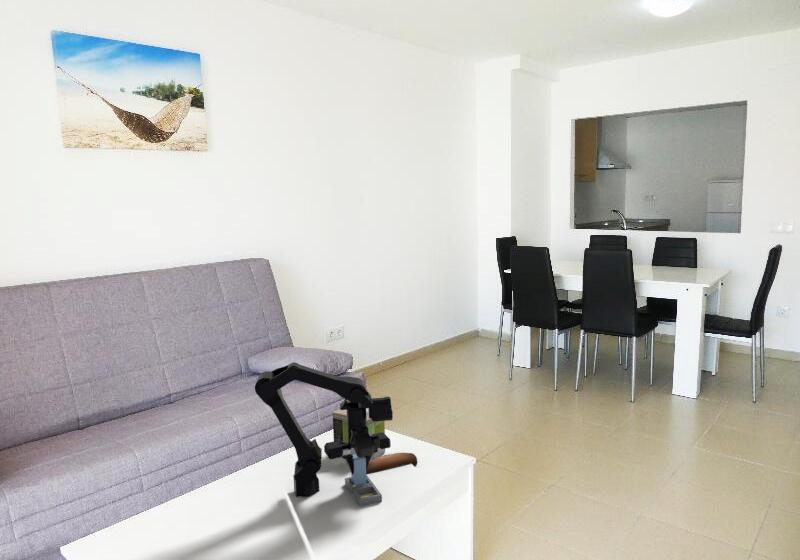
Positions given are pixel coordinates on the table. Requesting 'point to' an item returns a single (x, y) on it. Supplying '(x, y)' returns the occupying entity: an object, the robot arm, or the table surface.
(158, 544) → the table surface
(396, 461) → the sunglasses case
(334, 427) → the tea box
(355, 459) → the plug
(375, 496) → the panel
